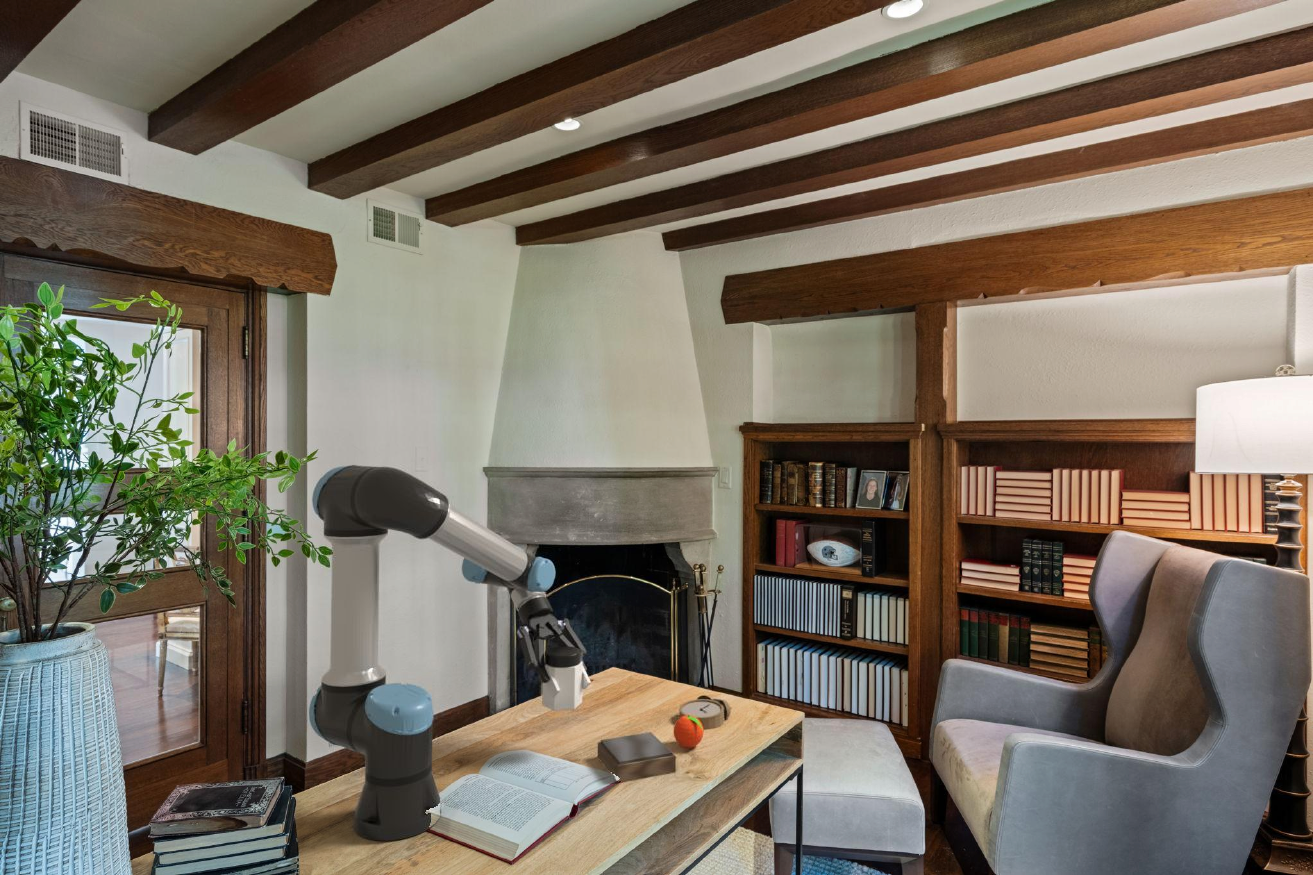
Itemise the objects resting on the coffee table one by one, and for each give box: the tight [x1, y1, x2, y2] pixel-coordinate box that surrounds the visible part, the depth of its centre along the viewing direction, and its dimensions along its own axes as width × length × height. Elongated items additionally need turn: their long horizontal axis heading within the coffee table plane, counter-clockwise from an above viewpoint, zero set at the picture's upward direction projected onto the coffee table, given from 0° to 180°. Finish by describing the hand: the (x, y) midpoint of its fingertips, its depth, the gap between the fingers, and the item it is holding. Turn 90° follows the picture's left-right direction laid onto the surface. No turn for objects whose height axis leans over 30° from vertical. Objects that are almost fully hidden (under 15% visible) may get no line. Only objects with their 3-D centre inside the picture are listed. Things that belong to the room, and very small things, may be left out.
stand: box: [597, 731, 677, 783], centre depth 160 cm, size 13×13×4 cm
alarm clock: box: [675, 694, 732, 730], centre depth 187 cm, size 11×5×15 cm
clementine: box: [673, 715, 705, 749], centre depth 169 cm, size 8×7×7 cm
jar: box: [541, 646, 584, 712], centre depth 166 cm, size 9×8×12 cm
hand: (571, 689), depth 163 cm, fingers closed on jar, 8 cm apart
